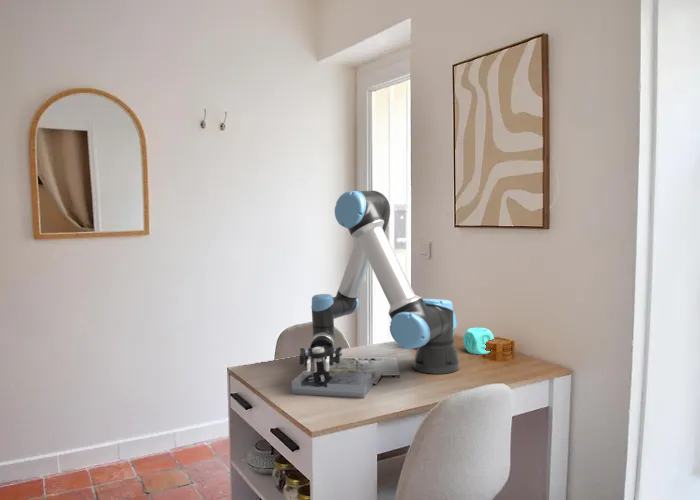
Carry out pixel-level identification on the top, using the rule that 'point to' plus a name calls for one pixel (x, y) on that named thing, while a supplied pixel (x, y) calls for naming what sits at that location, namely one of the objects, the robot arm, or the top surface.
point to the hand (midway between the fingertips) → (317, 367)
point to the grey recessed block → (334, 385)
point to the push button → (319, 364)
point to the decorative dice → (477, 340)
